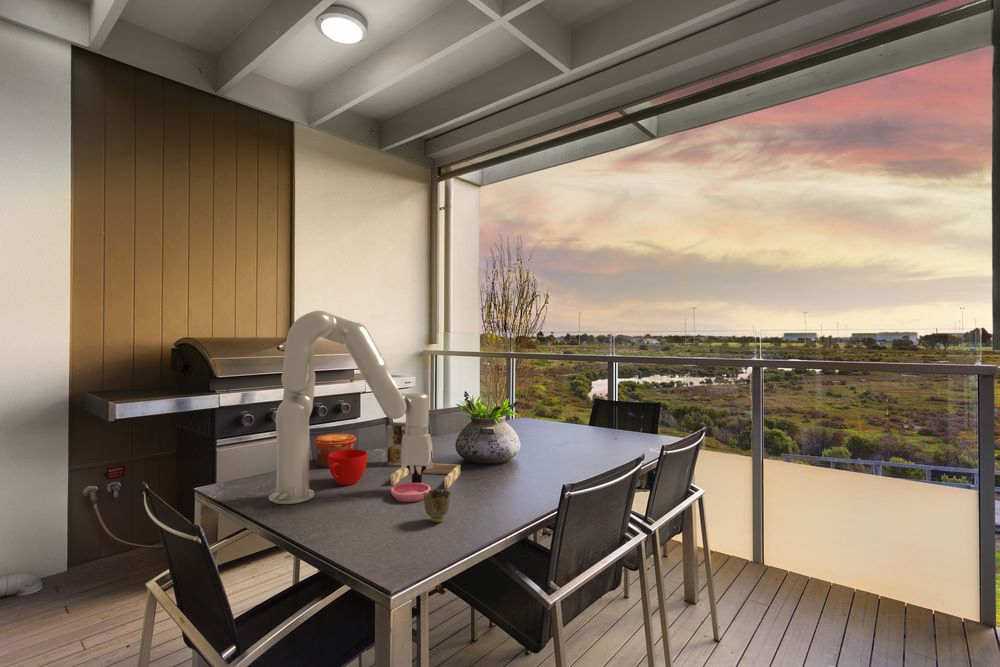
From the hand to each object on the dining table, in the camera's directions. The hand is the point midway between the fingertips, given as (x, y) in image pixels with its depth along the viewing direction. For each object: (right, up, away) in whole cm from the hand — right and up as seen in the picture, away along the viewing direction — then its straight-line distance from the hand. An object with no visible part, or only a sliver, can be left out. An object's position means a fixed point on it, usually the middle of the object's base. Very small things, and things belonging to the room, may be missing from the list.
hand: (417, 485), depth 170 cm
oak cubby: (+2, -1, +11) cm, 11 cm away
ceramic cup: (-26, -1, +5) cm, 26 cm away
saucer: (-1, -2, -8) cm, 8 cm away
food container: (-37, -1, +31) cm, 49 cm away
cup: (+10, -2, -28) cm, 30 cm away
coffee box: (-12, -1, +32) cm, 35 cm away
